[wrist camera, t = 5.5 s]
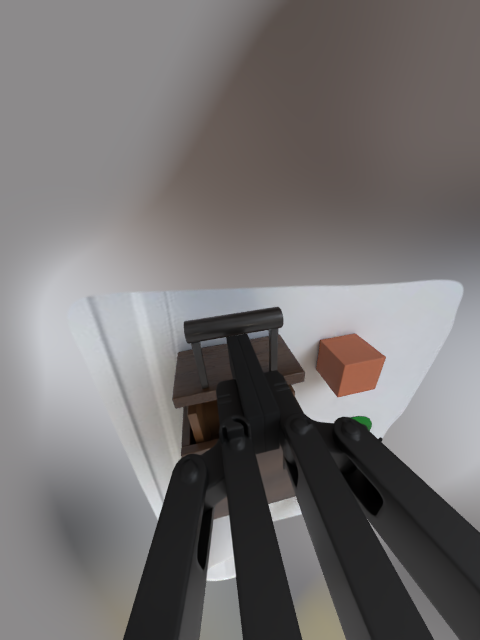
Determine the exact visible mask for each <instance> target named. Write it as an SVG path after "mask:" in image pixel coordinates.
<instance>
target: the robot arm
mask: <svg viewBox="0 0 480 640" xmlns="http://www.w3.org/2000/svg"><path fill="white" fill-rule="evenodd" d="M226 339H227V347H228V354H229V362H230V368H231V373H232V377H233V379H231V380H226V381H221V382H218V385H217V387H216V397H217V406H218V415H219V423H220V427H219V439H218V441H217V443H216V444H215V445H214V446H213V447H212V448H211V449H209V450H208V451H206V452H205V453H203V454H201V455H198V454H194V453H193V454H188V455H186V456H184V457H183V458H181V459H180V460H179V461H178V463H177V464H176V466H175V468H174V470H173V472H172V476H171V479H170V483H169V486H168V489H167V493H166V496H165V499H164V503H163V506H162V510H161V513H160V516H159V520H158V523H157V527H156V530H155V533H154V537H153V540H152V544H151V547H150V550H149V554H148V557H147V561H146V564H145V567H144V571H143V574H142V577H141V581H140V584H139V588H138V591H137V594H136V598H135V601H134V604H133V608H132V611H131V614H130V618H129V621H128V625H127V628H126V632H125V635H124V638H123V640H199V637H200V629H201V621H202V611H203V603H204V596H205V587H206V579H207V570H208V562H209V554H210V545H211V537H212V529H213V520H214V512H215V505H216V504H218V503H219V502H220V501H222V500H223V499H224V498H226V497H227V501H228V510H229V519H230V528H231V537H232V545H233V554H234V563H235V572H236V581H237V590H238V599H239V607H240V616H241V625H242V634H243V640H302V637H301V633H300V629H299V625H298V621H297V617H296V613H295V609H294V605H293V601H292V597H291V593H290V589H289V585H288V581H287V577H286V573H285V570H284V565H283V561H282V557H281V553H280V549H279V545H278V541H277V537H276V533H275V529H274V525H273V521H272V517H271V513H270V509H269V505H268V501H267V497H266V493H265V489H264V485H263V481H262V477H261V473H260V469H259V465H258V461H257V457H256V454H260V453H264V452H268V451H272V450H276V449H279V448H280V445H281V448H282V451H283V470H286V469H287V472H288V475H289V477H290V480H291V483H292V486H293V489H294V492H295V495H296V497H297V500H298V503H299V506H300V509H301V512H302V515H303V517H304V520H305V523H306V526H307V529H308V531H309V534H310V537H311V540H312V543H313V546H314V549H315V552H316V555H317V557H318V560H319V563H320V566H321V569H322V572H323V575H324V577H325V580H326V583H327V586H328V589H329V591H330V595H331V597H332V600H333V603H334V606H335V609H336V611H337V615H338V617H339V620H340V623H341V626H342V629H343V632H344V635H345V637H346V640H434V639H433V637H432V635H431V633H430V632H429V630H428V628H427V626H426V624H425V622H424V621H423V619H422V617H421V615H420V614H419V612H418V610H417V608H416V606H415V604H414V603H413V601H412V599H411V597H410V596H409V594H408V592H407V590H406V589H405V586H404V585H403V583H402V581H401V579H400V577H399V576H398V574H397V572H396V570H395V568H394V567H393V565H392V563H391V561H390V560H389V558H388V556H387V554H386V552H385V550H384V549H383V547H382V545H381V543H380V541H379V540H378V538H377V536H376V534H375V533H374V531H373V529H372V527H371V526H370V523H371V525H372V526H373V527H374V528H375V529H376V531H377V532H378V534H379V535H380V536H381V538H382V539H383V540H384V542H385V543H386V544H387V545H388V547H389V548H390V549H391V551H392V552H393V553H394V555H395V556H396V557H397V558H398V560H399V561H400V562H401V564H402V565H403V566H404V567H405V569H406V570H407V572H408V573H409V574H410V575H411V577H412V578H413V579H414V581H415V582H416V583H417V585H418V586H419V587H420V589H421V590H422V591H423V592H424V594H425V595H426V596H427V598H428V599H429V600H430V602H431V603H432V604H433V605H434V607H435V608H436V609H437V611H438V612H439V613H440V615H441V616H442V617H443V618H444V620H445V621H446V623H447V624H448V625H449V626H450V628H451V629H452V630H453V632H454V633H455V634H456V635H457V637H458V638H459V640H480V532H478V531H477V530H476V529H475V528H474V527H473V526H472V525H471V524H469V522H467V521H466V520H465V519H464V518H463V517H462V516H461V515H460V514H459V513H458V512H457V511H456V510H454V509H453V508H452V507H451V506H450V505H449V504H448V503H447V502H446V501H445V500H444V499H442V498H441V497H440V496H439V495H438V494H437V493H436V492H435V491H434V490H433V489H432V488H430V487H429V486H428V485H427V484H426V483H425V482H424V481H423V480H422V479H421V478H420V477H419V476H417V475H416V474H415V473H414V472H413V471H412V470H411V469H410V468H409V467H408V466H407V465H406V464H404V463H403V462H402V461H401V460H400V459H399V458H398V457H397V456H396V455H394V453H392V452H391V451H390V450H389V449H388V448H387V447H386V446H385V445H384V444H383V443H382V442H380V441H379V440H378V439H377V438H376V437H375V436H374V435H373V434H372V433H371V432H370V431H369V430H367V429H366V428H365V427H364V426H363V425H362V424H361V423H359V422H358V421H356V420H355V419H352V418H349V417H341V418H338V419H337V420H336V421H335V423H334V424H333V423H323V422H317V421H314V420H312V419H310V418H309V417H307V416H306V415H305V414H304V413H303V411H302V410H301V408H300V406H299V404H298V402H297V400H296V399H295V397H294V395H293V393H292V391H291V389H290V387H289V386H288V384H287V382H286V380H285V378H284V376H283V375H282V374H281V373H280V372H278V371H277V370H274V371H269V372H263V370H262V368H261V365H260V363H259V360H258V358H257V356H256V353H255V351H254V349H253V346H252V344H251V342H250V339H249V337H248V335H247V334H242V335H236V336H230V337H226ZM367 519H368V520H367ZM368 521H369V522H370V523H369V522H368Z"/></svg>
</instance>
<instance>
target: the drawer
mask: <svg viewBox="0 0 480 640" xmlns="http://www.w3.org/2000/svg"><path fill="white" fill-rule="evenodd" d="M282 326H283V314H282V311H281V309H280V308H279V307H273V308H266V309H260V310H254V311H247V312H241V313H234V314H228V315H222V316H215V317H209V318H203V319H196V320H190V321H185V322H184V333H185V338H186V341H187V343H191V345H192V349H193V350H187V351H182V352H178V356H177V364H176V373H175V381H174V389H173V398H172V400H173V403H174V405H175V408H181V407H186V406H188V411H187V416H188V419H189V422H190V425H191V428H192V431H193V435H194V438H195V441H196V444H198V443H202V442H206V441H210V440H215V439H219V427H220V423H219V415H218V406H217V397H216V387H217V385H218V382H221V381H226V380H231V379H233V377H232V373H231V368H230V362H229V354H228V347H227V344H222V345H216V346H210V347H205V348H201V344H200V341H206V340H211V339H217V338H223V337H229V336H235V335H241V334H246V333H252V332H258V331H264V330H269V336H267V337H262V338H256V339H250V342H251V344H252V346H253V349H254V351H255V353H256V356H257V358H258V360H259V363H260V365H261V368H262V370H263V372H269V371H274V370H277V371H278V372H280V373H281V374H282V375H283V376H284V378H285V380H286V382H287V384H288V386H289V387H290V389H291V391H292V393H293V395H294V397H295V391H294V389H293V387H292V386H291V384H295V383H300V382H304V377H305V371H304V370H303V369H302V367H301V366H300V364H299V363H298V361H297V360H296V358H295V357H294V355H293V354H292V352H291V351H290V349H289V348H288V346H287V345H286V343H285V342H284V340H283V339H282V337H281V336H280V335H278V328H281V327H282Z"/></svg>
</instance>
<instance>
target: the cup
mask: <svg viewBox="0 0 480 640" xmlns="http://www.w3.org/2000/svg"><path fill="white" fill-rule="evenodd" d="M234 577H236V572H235V563H234V554H233V545H232V537H231V528H230V519H229V515H228V516H224V517H221V518H217V519H214V520H213V529H212V537H211V545H210V554H209V562H208V570H207V579H206V581H220V580H227V579H230V578H234Z"/></svg>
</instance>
